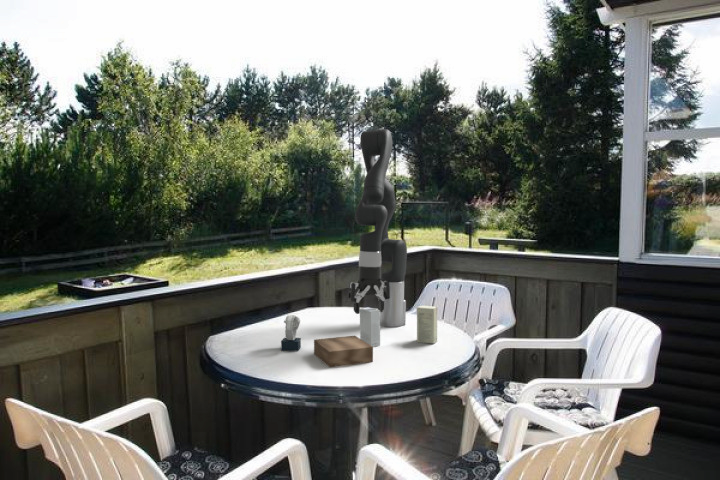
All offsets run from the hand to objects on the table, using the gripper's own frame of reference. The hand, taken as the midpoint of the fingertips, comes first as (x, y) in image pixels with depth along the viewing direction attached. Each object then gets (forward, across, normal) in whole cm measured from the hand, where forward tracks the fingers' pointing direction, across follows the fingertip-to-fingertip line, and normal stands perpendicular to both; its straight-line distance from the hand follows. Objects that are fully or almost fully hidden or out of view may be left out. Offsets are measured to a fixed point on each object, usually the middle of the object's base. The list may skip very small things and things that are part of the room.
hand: (368, 312), depth 179 cm
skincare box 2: (+11, -21, +4) cm, 24 cm away
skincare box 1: (+11, -1, 0) cm, 11 cm away
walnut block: (+12, +13, +10) cm, 20 cm away
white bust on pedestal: (+12, +25, -5) cm, 28 cm away
